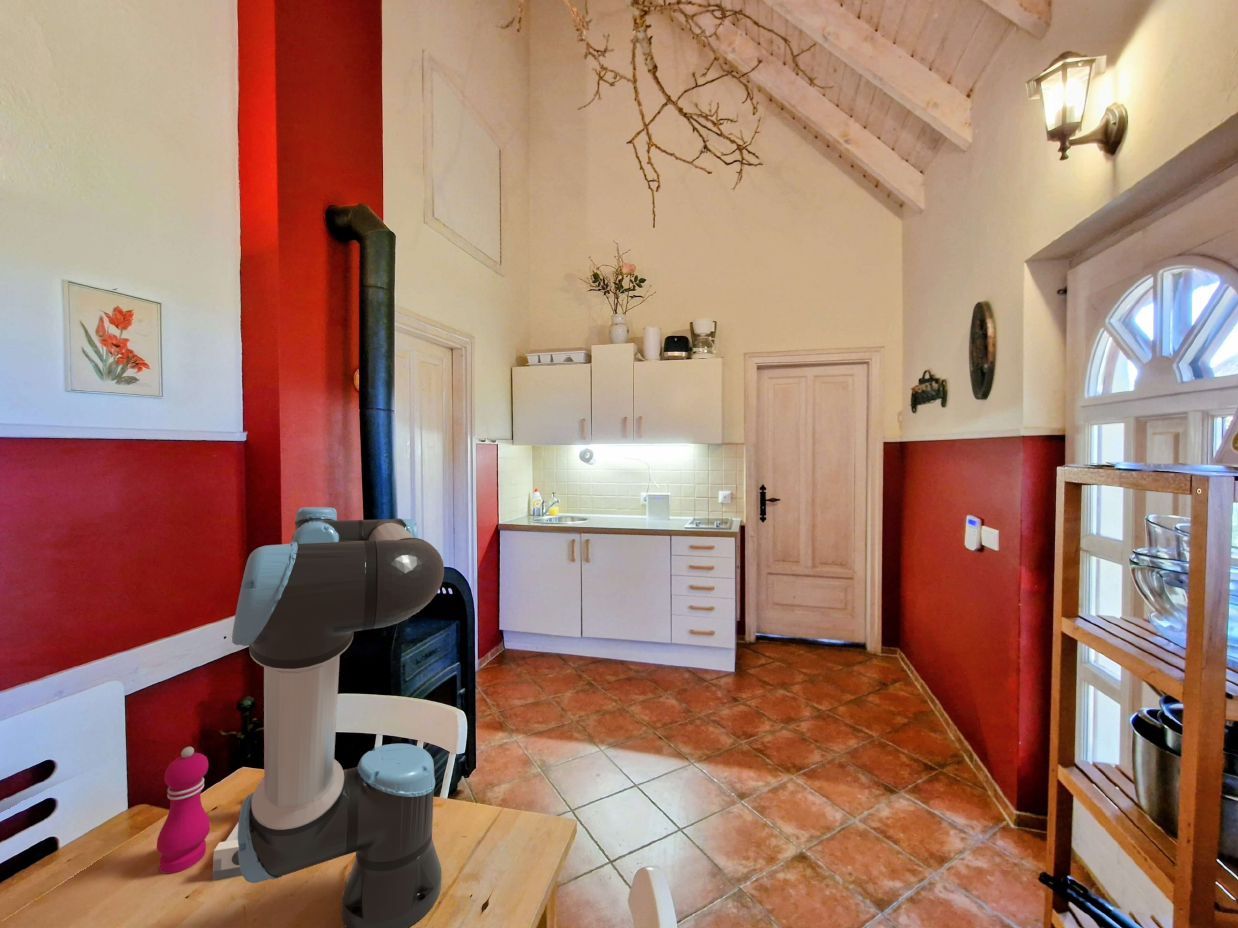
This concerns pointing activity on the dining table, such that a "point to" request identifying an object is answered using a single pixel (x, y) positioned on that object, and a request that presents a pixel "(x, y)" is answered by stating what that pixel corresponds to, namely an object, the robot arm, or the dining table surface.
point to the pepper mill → (184, 814)
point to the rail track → (227, 857)
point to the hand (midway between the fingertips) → (310, 682)
